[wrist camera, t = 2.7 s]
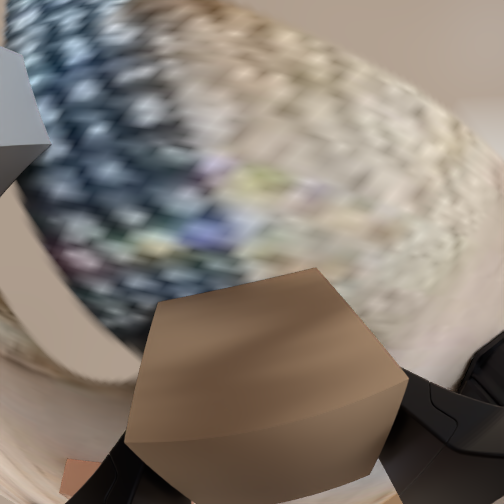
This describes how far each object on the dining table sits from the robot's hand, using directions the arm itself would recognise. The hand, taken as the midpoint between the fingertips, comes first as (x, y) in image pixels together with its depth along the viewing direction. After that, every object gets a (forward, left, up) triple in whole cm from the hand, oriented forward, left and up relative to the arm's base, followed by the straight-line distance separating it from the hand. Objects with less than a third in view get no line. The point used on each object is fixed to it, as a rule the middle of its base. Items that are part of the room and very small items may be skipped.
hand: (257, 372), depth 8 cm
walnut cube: (0, 0, -1) cm, 1 cm away
